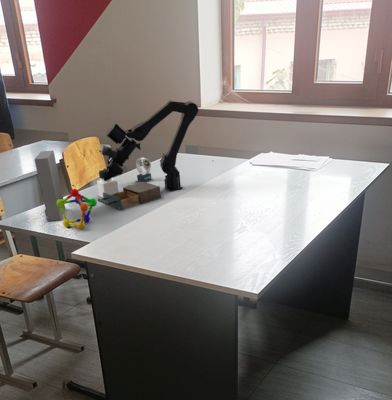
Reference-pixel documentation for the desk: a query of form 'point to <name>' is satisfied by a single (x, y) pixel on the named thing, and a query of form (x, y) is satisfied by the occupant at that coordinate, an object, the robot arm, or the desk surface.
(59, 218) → the tall grey pillar
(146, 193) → the cabinet
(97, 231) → the desk surface
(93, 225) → the desk surface
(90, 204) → the educational toy
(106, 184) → the medicine bottle
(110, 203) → the drawer
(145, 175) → the snow globe
